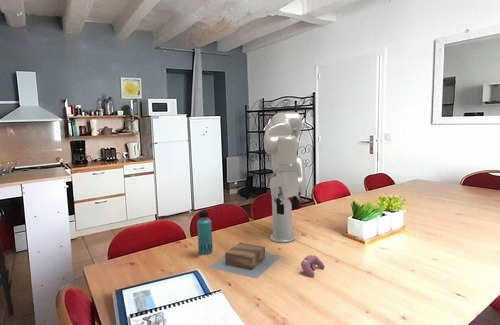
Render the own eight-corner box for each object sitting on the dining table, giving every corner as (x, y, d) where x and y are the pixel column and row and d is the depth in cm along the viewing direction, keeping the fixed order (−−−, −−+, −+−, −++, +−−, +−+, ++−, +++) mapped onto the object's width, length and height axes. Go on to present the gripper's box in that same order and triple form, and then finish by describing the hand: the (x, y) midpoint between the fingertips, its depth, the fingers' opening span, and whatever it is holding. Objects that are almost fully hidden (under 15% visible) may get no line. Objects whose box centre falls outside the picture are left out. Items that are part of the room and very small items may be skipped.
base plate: (236, 250, 148) (236, 247, 148) (281, 259, 138) (281, 255, 138) (208, 270, 129) (208, 267, 129) (257, 282, 119) (257, 278, 118)
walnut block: (240, 253, 141) (240, 242, 141) (265, 258, 136) (264, 246, 135) (225, 264, 131) (225, 252, 130) (251, 270, 125) (251, 257, 125)
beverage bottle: (199, 259, 140) (196, 214, 138) (197, 253, 147) (195, 210, 144) (214, 257, 142) (212, 212, 140) (211, 251, 148) (209, 209, 146)
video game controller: (316, 269, 131) (309, 253, 132) (326, 267, 128) (318, 250, 129) (304, 279, 123) (297, 261, 124) (314, 277, 120) (306, 259, 121)
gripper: (292, 165, 135) (293, 206, 136) (265, 170, 122) (266, 214, 124) (308, 166, 129) (308, 208, 131) (281, 171, 117) (282, 217, 119)
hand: (288, 211), depth 127 cm, fingers open, 9 cm apart
